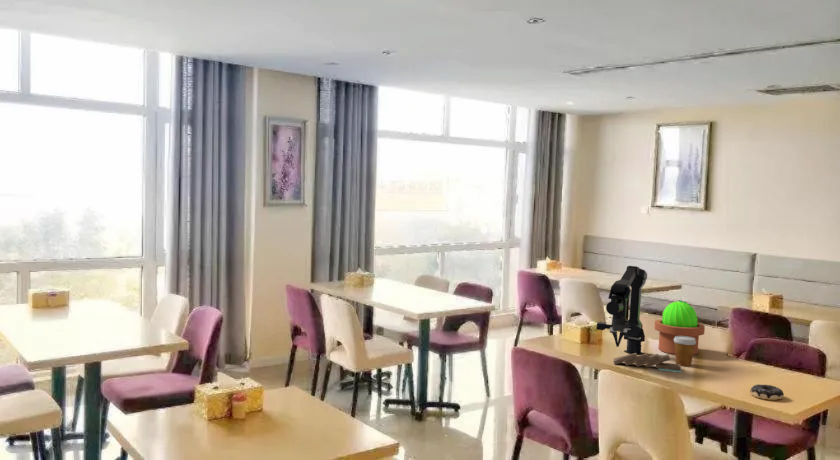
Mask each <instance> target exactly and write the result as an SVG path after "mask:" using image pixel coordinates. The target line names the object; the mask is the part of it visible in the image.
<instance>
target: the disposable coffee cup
mask: <svg viewBox="0 0 840 460" xmlns="http://www.w3.org/2000/svg"><path fill="white" fill-rule="evenodd" d="M674 342H675V364H680V366H681V367H690V366H691V367H692V361H693V356H694V355H693V352H694V347H695V344H696V340H695V338H692V337H688V336H675V338H674Z"/></svg>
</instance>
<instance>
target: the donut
mask: <svg viewBox="0 0 840 460" xmlns="http://www.w3.org/2000/svg"><path fill="white" fill-rule="evenodd" d="M749 391H750V394H751V396H752V395H753V396H752V397H754V396H755V397H754V398H756V397H758V398H757V399H759V398H762V399H761V400H763V399H769V400H768V401H778V400H777V399H780V400H782V399H783V398H784V396H785V395H784V394H785V393H784V391H783V389H781V388H779V387H777V386H775V385H771V384H754V385H753V386H752V387H751V388H750V390H749Z"/></svg>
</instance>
